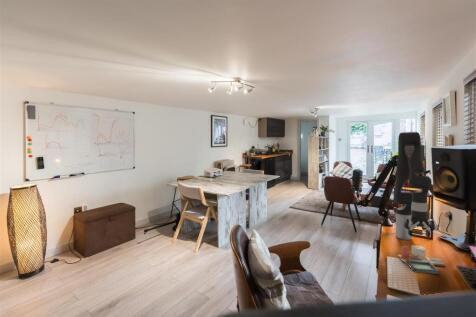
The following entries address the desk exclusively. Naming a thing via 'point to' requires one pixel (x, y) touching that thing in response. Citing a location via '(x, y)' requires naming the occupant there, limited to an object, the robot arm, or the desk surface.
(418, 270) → the tray
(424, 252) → the die
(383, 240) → the desk surface
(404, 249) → the pawn
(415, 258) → the board
